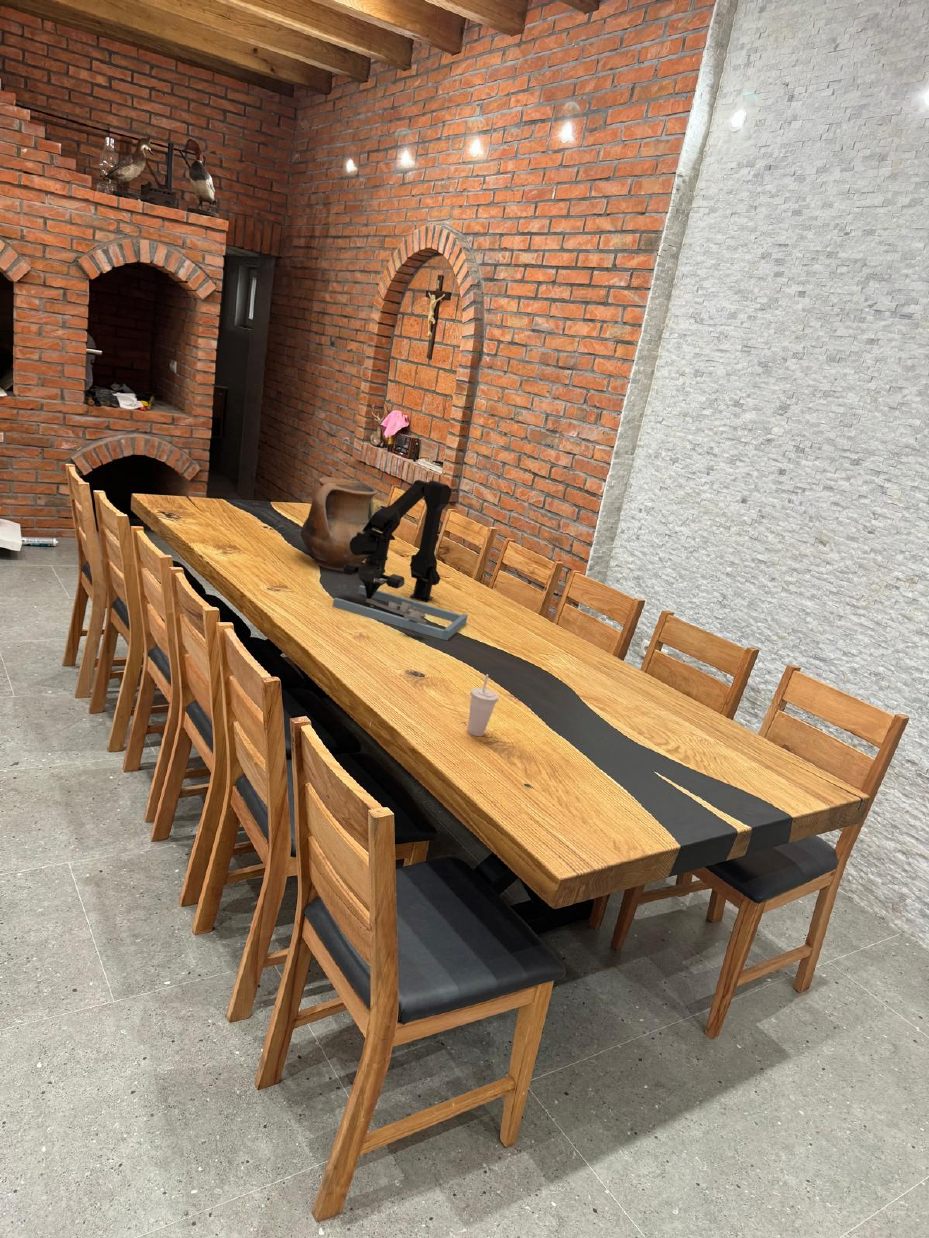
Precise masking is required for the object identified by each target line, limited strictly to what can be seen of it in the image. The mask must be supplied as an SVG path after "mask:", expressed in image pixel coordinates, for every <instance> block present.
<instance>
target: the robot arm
mask: <svg viewBox="0 0 929 1238" xmlns="http://www.w3.org/2000/svg"><path fill="white" fill-rule="evenodd" d="M451 497H452V488H451V486H450V485H448V484H446V483H442V482H439V481H437V480H435V479H434V480H433V479H432V480H430V481H424V480H421V479H416V480H414V481H413V483H412V484H411V486H410V487H409V488H408V489H406V490H405V492H403V493H402V494H401V496H399V497H398V498H397V499H396V500H395V501H394V502H393V503H391V504H390V505H389V506H385V507H382V508H380V509H379V510H377V511H375V512H373V516H372V518H371V519H370V520H369V522H368V523H367V525H366V526H365V527H364V529H363V530H362V531H363V532H364V533H361V532H357V535H356V536H355V537H353V538H352V539H351V541H350V550H351V552H352V553H353V554H354V555H368V556H367V557H366V559H365V560H364V561H363V562H362V563H360V564H358V563H355V562H350V563H347V564H345V565H344V567H343V571H342V573H343V574H347V575H348V576H349V575H350V576H352V575H354V574H355V573H356V574H357V575H358V576H357V577H358V579H359V581H360V582H362V583H363V586H365V590H366V599H367V598H368V599H372V600H373V599H374V598H373V596H374V594H375V593H376V591H377V590H379V589H380V587H382V586H383V585H385V584H386V585H387V587H388V588H389V587H390V588H392V589H396V590H398V589H400V588H402V587H403V586H404V585H405V582H406V581H405V577H404V576H403V575H399V574H395V573H393V574H390V575H386V574H385V573H386V568H385V567H386V564H387V561H388V559H389V556H388V552H389V548H390V542H391V541H395V540H396V537H395V536H394V535H393V533H394V532H395V531H396V530H397V529H398V527H399V526H400V525H401V522H402V521H401V520H402V518H403V517H404V516H405V515H406V514H408V512H409V511H410V510H411V509H412V508H414V507H415V505H416V504H418V503H419V501H421V500H422V499H423V500H424V502H425V506H426V511H425V512H426V513H425V517H424V523H423V528H422V529H423V530H422V535H421V538H420V545H419V549H418V551H417V552H416V553H415V554H412V555H411V561H410V563H409V567H410V578H413V579H415V584H414V590H413V593H412V594H410V595H409V598H411V599H416V600H419V601H422V602H426V603H428V602H430V601H431V600H432V599H434V596H431V593H432V590H433V589H432V588H433V586H437V585H439V583H440V582H441V576H440V574H439V573H438V570H437V568H438V561H437V557H436V554H435V550H436V544H437V540H438V539H437V538H438V534H439V529H440V524H441V518H442V513H443V510H445V508H446V507H447V506H448V505H449V503H450V500H451ZM373 529H375V530H377V531H375V530H373Z"/></svg>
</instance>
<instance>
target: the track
mask: <svg viewBox="0 0 929 1238" xmlns="http://www.w3.org/2000/svg"><path fill="white" fill-rule="evenodd" d="M357 594H358V595H362V596H366V590H365V586H364V585H362V584H361V585H359V586H358V591H357ZM366 597H367V596H366ZM372 599H374V600H379V601H382V602H386V603H388V604H389V601H391V602H393V603H396V604H398V606H400V607H401V604H402V602H405V603H408V604H410V605H411V606H413V607H416V608H419V609H422V610H424V611H426V612H425V615H430V616H433V617H436V618H440V619H444V620H446V619H447V620H446V621H449V620H450V622H452V623H451V624H449V625H447V627H446V628H444V629H442V628H439V627H436V626H432V625H429V624H426V625H423V624H421V623H418V622H416V621H413V620H409V619H406V618H404V616H403V617H402V616H399V615H395V614H392V613H390V612H385V611H382V610H379V609H375V608H373V607H368V606H365V605H363V604H359V603H356V602H351V601H348V600H345V599H343V598H342V599H341V598H339V597H335V598H333V602H332V607H334V608H337V609H339V610H340V609H341V610H343V611H347V612H349V613H350V612H351V613H353V614H357V615H361V616H364V617H367V618H370V619H374V620H377V621H380V622H382V623H383V622H384V623H386V624H390V625H393V626H396V627H400V628H403V629H407V630H409V631H413V632H416V633H420V634H423V635H427V636H430V637H434V638H436V639H440V640H443V641H446V642H447V641H448V640H449V639H450V638H452V637H453V635H455V634H456V633H457V632H459V631H460V630H461V629H462V628H463V627H464V626H465V625H466V624H467V621H468V616H469V615H468V614H466V613H462V614H459V613H456V612H453V611H450V610H447V609H443V608H439V607H436V606H433V605H429V604H426V603H423V602H419V601H416V600H412V599H409V598H406V597H403V596H402V597H401V596H398V595H396V594H392V593H388V592H386V591H382V590H379V589H378V590H377V591H376V593H375V594H374V596H373V598H372ZM410 608H411V607H410ZM462 626H463V627H462ZM461 627H462V628H461ZM460 628H461V629H460Z"/></svg>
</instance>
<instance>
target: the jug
mask: <svg viewBox="0 0 929 1238" xmlns="http://www.w3.org/2000/svg"><path fill="white" fill-rule="evenodd" d="M317 482H318V483H319V484H320V487H319V489H318V490H317V492H316V493H315V495H314V497H313V500H312V502H311V506H310V508H309V513H308V517H307V518H306V520H304V523H303V525H302V527H301V530H300V537H301V539H302V541H303V544H304V545H305V547H306V549H307V550H308V552H309V553H310V554H311V556H312V557H313V559H312V562H313V563H314V564H316V565H317V566H319V567H322V568H324V569H328V570H332V571H336V572H343V567H344V565H345V564H347V563H350V562H355V563H358V564H363V563H364V562H365V560H366V557H367V556H368V555H354V554H353V553H352V552H351V550H350V541H351V539H352V538H353V537H355V536H356V535H357V532H361V533H364V532H363V531H362V530H363V529H364V527H365V526H366V525H367V523H368V522H369V520H370V519H371V518H372V516H373V514H374V499H373V497H374V496H376V495H377V494H378V489H376V488H374V487H373V486H371V484H369V483H368V482H366V481H356V480H349V479H344V478H335V477H331V476H330V477H326V476H325V477H321V478H318V480H317ZM373 530H375V529H373ZM375 531H377V530H375Z"/></svg>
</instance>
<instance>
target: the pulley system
mask: <svg viewBox="0 0 929 1238" xmlns="http://www.w3.org/2000/svg"><path fill="white" fill-rule="evenodd" d="M365 603H368V604H370V608H374V607H375V606H376V607H379V608H382V609H384V610H387V611H389V612H392V613H396V614H399V615H402V616H403V618H406V619H409V620H413V621H416V622H418V623H421V624H423V625H427V622H428V621H427V620H425V618H426V617H427V616H426V613H425V612H426V611H424V610H422V609H419V608H416V607H413V606H411V605H410V604H408V603H405V602H402V604H401V606H400V607H399V609H398V606H399V605H398V604H396V603H393V602H391V601H389V603H388V605H385V604H383V603H381V602H379V601H377V600H376V599H373V598H372V599H368V598H367V597H366V599H365ZM410 607H411V608H410Z"/></svg>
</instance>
